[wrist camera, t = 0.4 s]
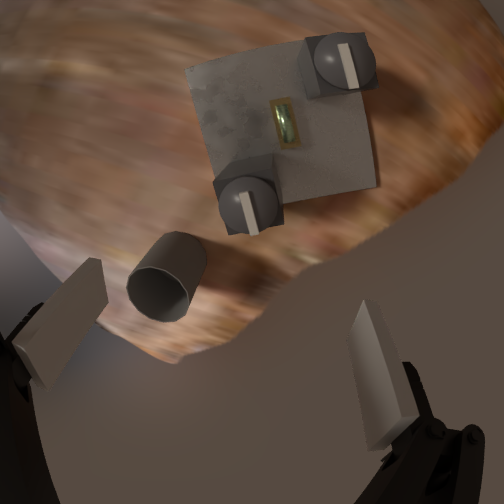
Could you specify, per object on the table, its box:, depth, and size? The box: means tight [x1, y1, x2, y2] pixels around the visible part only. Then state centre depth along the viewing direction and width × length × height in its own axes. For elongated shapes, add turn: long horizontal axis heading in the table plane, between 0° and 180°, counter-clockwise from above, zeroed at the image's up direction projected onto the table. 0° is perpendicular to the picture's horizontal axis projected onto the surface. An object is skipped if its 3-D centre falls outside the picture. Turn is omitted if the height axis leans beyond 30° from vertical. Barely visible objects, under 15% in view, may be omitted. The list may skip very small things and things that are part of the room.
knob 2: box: [297, 32, 379, 99], centre depth 23 cm, size 5×5×11 cm
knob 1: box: [213, 153, 284, 236], centre depth 30 cm, size 5×5×11 cm
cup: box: [126, 231, 207, 323], centre depth 38 cm, size 8×8×10 cm
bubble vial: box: [269, 96, 301, 150], centre depth 31 cm, size 6×2×3 cm, turn 14°
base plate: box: [184, 40, 377, 204], centre depth 32 cm, size 20×20×1 cm
